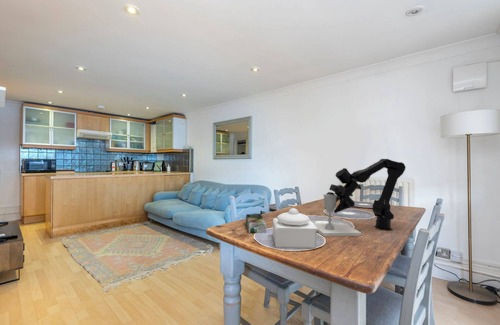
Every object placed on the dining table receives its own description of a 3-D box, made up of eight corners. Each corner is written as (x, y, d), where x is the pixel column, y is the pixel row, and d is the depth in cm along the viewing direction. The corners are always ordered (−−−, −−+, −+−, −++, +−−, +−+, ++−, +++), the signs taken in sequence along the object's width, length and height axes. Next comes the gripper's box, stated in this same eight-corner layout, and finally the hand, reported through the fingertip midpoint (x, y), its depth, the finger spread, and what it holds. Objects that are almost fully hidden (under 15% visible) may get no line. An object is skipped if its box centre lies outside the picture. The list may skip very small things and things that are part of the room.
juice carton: (267, 233, 120) (267, 221, 120) (248, 234, 119) (248, 222, 119) (261, 223, 140) (261, 213, 140) (245, 224, 139) (245, 214, 139)
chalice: (338, 228, 125) (339, 195, 124) (334, 231, 119) (334, 196, 119) (325, 226, 129) (325, 194, 129) (320, 228, 124) (320, 195, 124)
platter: (344, 225, 136) (344, 223, 136) (361, 235, 118) (361, 232, 118) (311, 226, 135) (311, 223, 135) (323, 236, 117) (323, 233, 117)
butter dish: (272, 235, 118) (273, 204, 118) (308, 235, 117) (308, 204, 117) (275, 248, 100) (276, 211, 100) (317, 249, 100) (318, 212, 100)
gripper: (329, 178, 134) (311, 197, 132) (349, 180, 116) (329, 203, 114) (341, 191, 136) (324, 210, 134) (363, 196, 118) (343, 218, 115)
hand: (329, 210), depth 124 cm, fingers open, 9 cm apart
